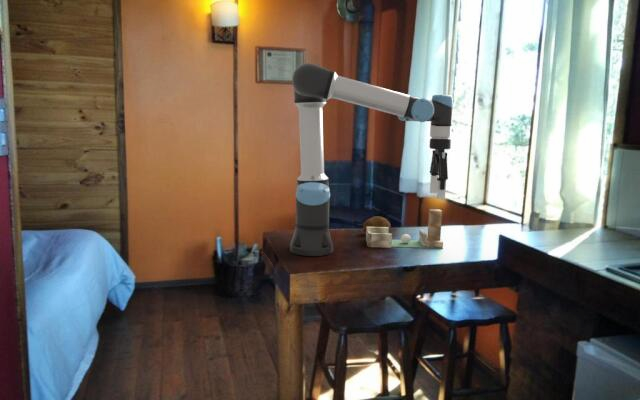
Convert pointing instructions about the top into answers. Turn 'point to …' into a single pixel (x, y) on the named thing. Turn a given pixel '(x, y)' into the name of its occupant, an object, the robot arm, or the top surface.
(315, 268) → the top surface
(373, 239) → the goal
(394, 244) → the plate
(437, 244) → the kicker
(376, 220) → the potato
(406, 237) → the ball
